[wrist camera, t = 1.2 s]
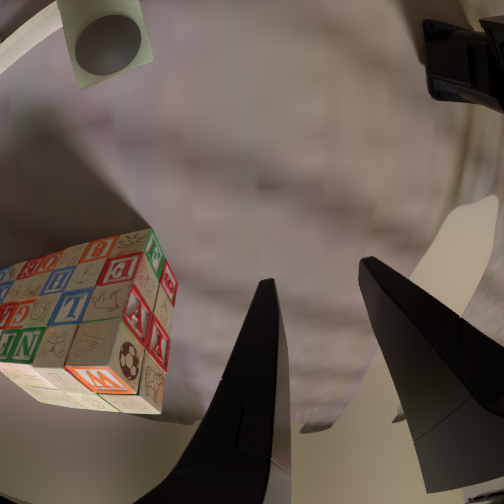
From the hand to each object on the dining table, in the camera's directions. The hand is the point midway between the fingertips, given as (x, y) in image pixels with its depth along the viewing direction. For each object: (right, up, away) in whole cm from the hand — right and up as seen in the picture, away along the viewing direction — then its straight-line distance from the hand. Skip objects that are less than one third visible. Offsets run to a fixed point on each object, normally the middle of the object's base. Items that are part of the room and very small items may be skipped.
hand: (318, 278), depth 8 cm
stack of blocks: (-19, -1, +15) cm, 24 cm away
